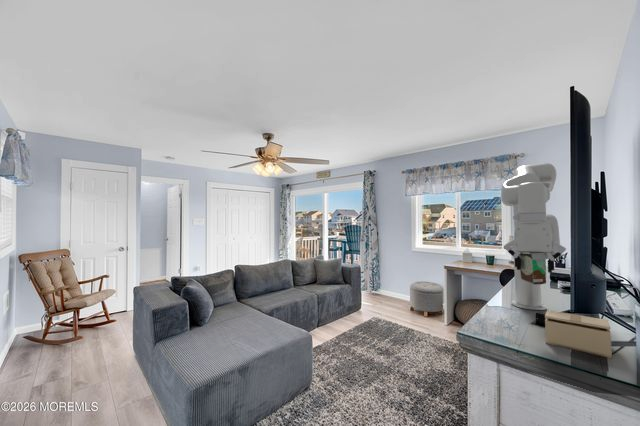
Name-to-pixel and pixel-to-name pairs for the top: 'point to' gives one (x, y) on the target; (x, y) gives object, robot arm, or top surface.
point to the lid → (578, 319)
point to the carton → (579, 337)
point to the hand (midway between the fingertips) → (534, 270)
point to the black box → (539, 319)
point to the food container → (533, 267)
